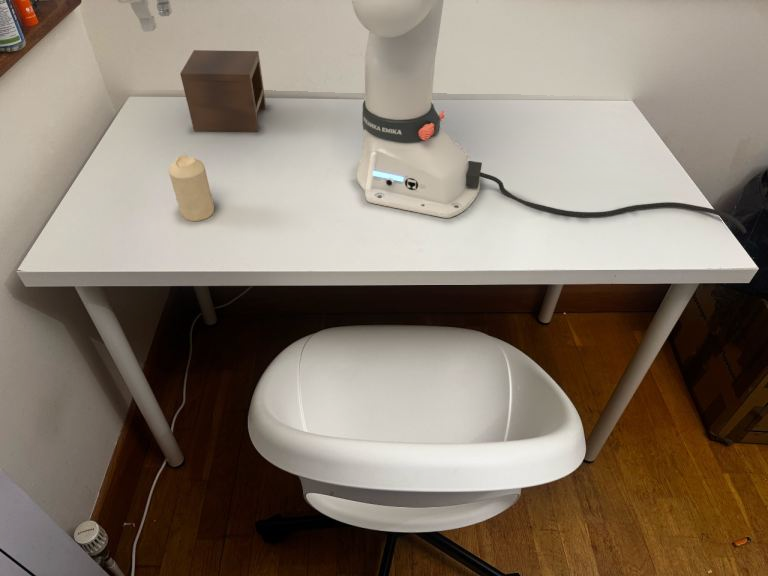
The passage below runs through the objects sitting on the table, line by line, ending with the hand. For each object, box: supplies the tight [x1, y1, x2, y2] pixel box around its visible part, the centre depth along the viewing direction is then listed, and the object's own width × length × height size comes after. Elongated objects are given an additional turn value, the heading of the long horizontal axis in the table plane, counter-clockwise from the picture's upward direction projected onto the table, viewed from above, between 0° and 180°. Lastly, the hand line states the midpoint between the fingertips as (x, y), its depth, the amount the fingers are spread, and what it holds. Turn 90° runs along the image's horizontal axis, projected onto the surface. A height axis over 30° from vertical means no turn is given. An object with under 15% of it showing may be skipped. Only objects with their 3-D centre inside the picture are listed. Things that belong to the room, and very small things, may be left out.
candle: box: [167, 154, 215, 222], centre depth 92 cm, size 6×6×10 cm
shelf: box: [179, 49, 267, 133], centre depth 114 cm, size 13×11×12 cm
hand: (158, 22), depth 89 cm, fingers open, 8 cm apart
